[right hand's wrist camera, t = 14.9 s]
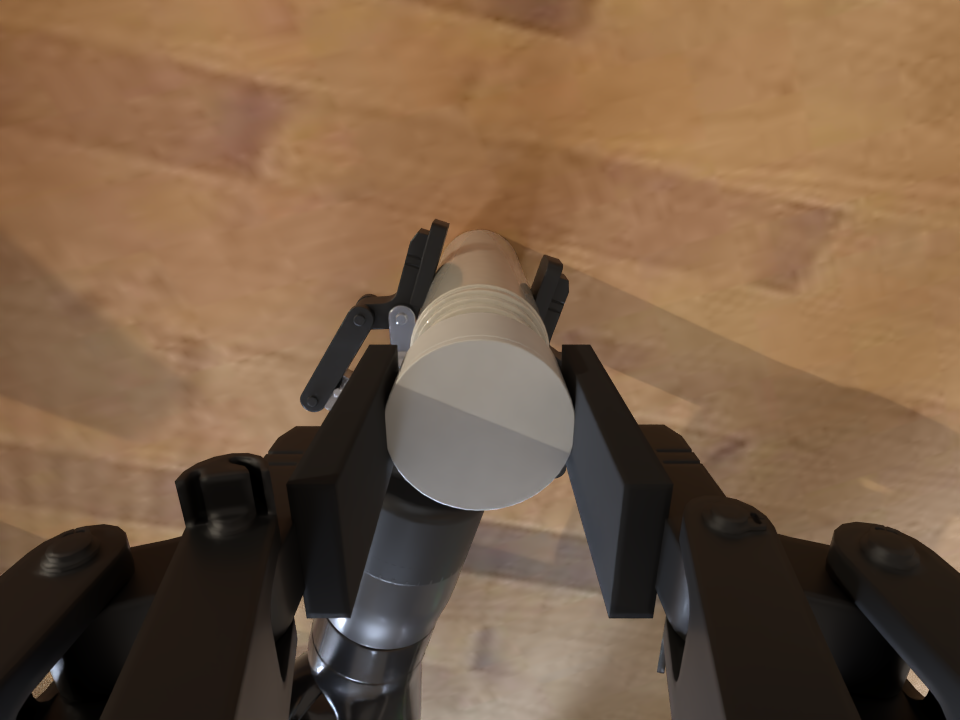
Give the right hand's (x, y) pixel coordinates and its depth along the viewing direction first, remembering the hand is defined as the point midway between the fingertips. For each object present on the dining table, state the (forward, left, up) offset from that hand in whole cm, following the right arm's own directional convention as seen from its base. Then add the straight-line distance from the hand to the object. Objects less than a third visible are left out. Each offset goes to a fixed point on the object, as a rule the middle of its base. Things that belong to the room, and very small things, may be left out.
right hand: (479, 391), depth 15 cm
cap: (0, 0, +2) cm, 2 cm away
